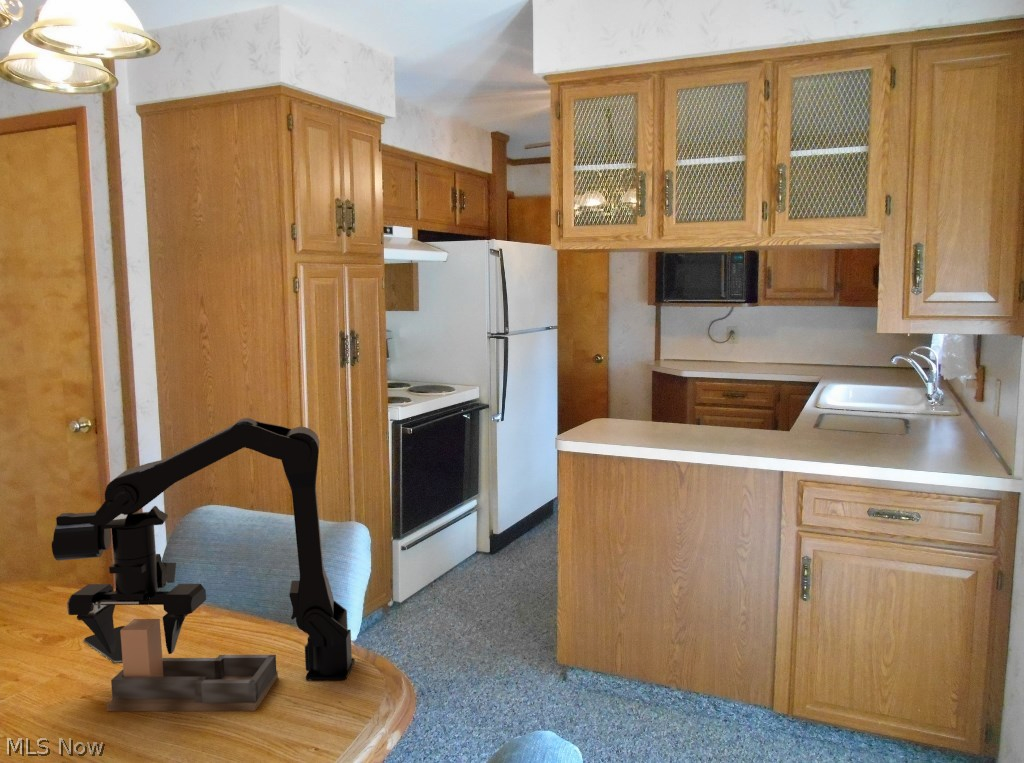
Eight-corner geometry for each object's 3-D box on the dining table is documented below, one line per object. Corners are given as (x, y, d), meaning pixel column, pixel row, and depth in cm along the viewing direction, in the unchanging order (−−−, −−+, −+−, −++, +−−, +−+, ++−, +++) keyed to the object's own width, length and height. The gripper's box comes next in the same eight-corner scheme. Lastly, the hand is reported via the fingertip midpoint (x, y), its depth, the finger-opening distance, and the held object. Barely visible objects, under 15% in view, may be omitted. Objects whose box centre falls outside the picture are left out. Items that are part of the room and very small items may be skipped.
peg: (163, 680, 118) (159, 618, 117) (151, 693, 114) (146, 630, 113) (138, 680, 119) (134, 618, 117) (125, 693, 115) (120, 630, 113)
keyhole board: (277, 677, 121) (276, 653, 121) (255, 710, 111) (253, 684, 111) (142, 677, 122) (140, 653, 121) (107, 711, 112) (105, 685, 111)
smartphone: (125, 624, 142) (162, 646, 132) (125, 628, 142) (162, 650, 132) (80, 638, 136) (115, 663, 126) (81, 642, 136) (116, 667, 126)
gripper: (218, 536, 122) (223, 630, 124) (103, 537, 123) (110, 630, 124) (186, 560, 111) (192, 662, 113) (61, 561, 112) (69, 662, 113)
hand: (141, 652), depth 116 cm, fingers open, 9 cm apart
